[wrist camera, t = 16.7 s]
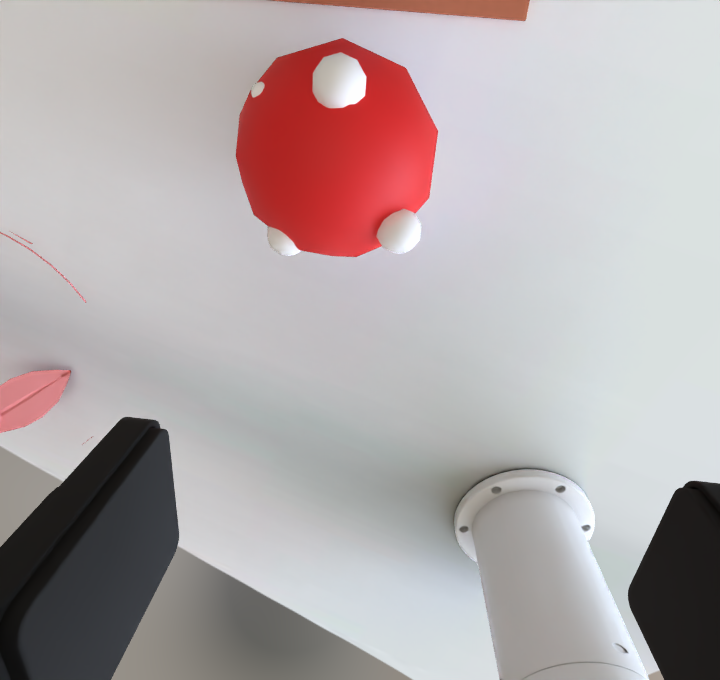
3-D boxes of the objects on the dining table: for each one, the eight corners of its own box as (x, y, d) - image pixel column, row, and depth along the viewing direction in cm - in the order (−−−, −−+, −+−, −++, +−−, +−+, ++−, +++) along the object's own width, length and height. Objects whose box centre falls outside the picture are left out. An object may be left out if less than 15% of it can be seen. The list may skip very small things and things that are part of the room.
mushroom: (389, 253, 35) (389, 321, 24) (244, 193, 33) (176, 236, 23) (458, 100, 30) (496, 100, 19) (293, 23, 29) (236, -24, 18)
